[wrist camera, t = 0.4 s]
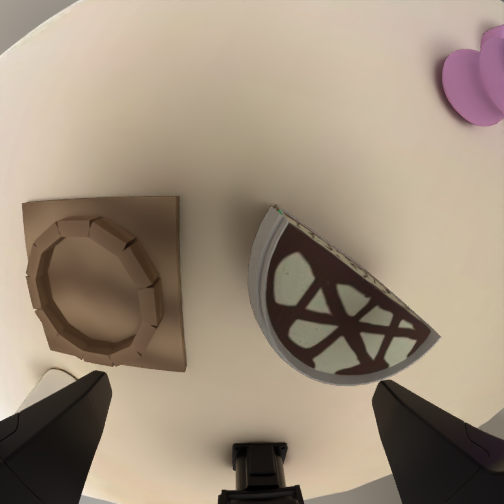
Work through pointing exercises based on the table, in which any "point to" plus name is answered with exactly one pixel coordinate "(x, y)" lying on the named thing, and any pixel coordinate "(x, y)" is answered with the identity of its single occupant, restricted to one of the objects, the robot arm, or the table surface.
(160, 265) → the brown ring stand base
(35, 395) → the can
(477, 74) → the container set
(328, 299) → the food container
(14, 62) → the table surface
